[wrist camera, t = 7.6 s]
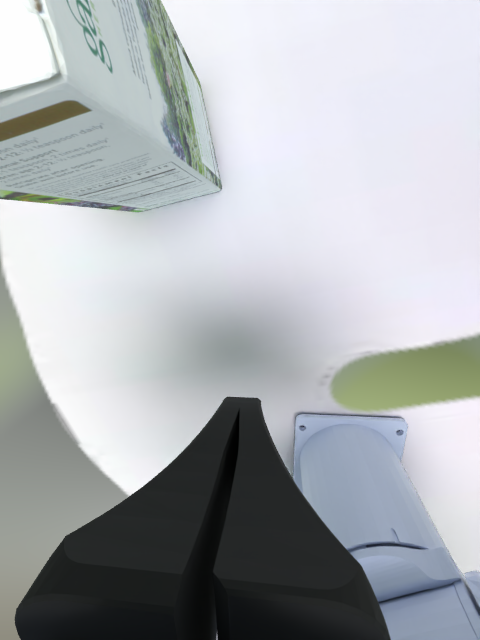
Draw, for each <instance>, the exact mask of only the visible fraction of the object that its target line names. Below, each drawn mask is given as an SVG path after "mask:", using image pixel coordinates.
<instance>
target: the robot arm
mask: <svg viewBox="0 0 480 640" xmlns="http://www.w3.org/2000/svg"><path fill="white" fill-rule="evenodd" d="M301 425H304V427H300V426H301ZM407 429H408V424H407V423H406V421H405V420H404V419H401V418H383V417H359V416H336V415H312V414H300V415H298V416H297V417H296V422H295V447H294V472H293V478H292V477H291V475H290V473H289V472H288V470H287V468H286V467H285V465H284V463H283V461H282V459H281V457H280V455H279V453H278V451H277V449H276V447H275V445H274V443H273V441H272V438H271V436H270V433H269V431H268V428H267V426H266V423H265V420H264V416H263V413H262V408H261V401H260V400H259V399H258V398H244V397H226V398H225V399H224V400H223V402H222V404H221V405H220V407H219V408H218V410H217V411H216V412H215V414H214V415H213V417H212V418H211V419H210V420H209V422H208V423H207V424H206V426H205V427H204V428H203V429H202V431H201V432H200V433H199V434H198V435H197V436H196V437H195V439H194V440H193V441H192V442H191V443H190V444H189V445H188V446H187V448H186V449H185V450H184V451H183V452H182V453H181V454H180V455H179V456H178V457H177V458H176V459H175V460H173V461H172V462H171V463H170V464H169V465H168V466H167V467H166V468H165V469H164V470H162V471H161V472H160V473H159V474H158V475H157V476H155V477H154V478H153V479H152V480H151V481H149V482H148V483H147V484H146V485H144V486H143V487H142V488H141V489H139V490H138V491H136V492H135V493H134V494H132V495H131V496H129V497H128V498H127V499H125V500H124V501H122V502H121V503H120V504H118V505H116V506H115V507H114V508H112V509H111V510H109V511H107V512H106V513H104V514H103V515H101V516H99V517H98V518H96V519H94V520H92V521H91V522H89V523H87V524H86V525H84V526H82V527H81V528H79V529H77V530H76V531H74V532H72V533H70V534H69V535H67V536H65V538H64V539H63V541H62V542H61V543H60V545H59V546H58V547H57V549H56V550H55V551H54V553H53V554H52V555H51V557H50V558H49V560H48V561H47V563H46V564H45V566H44V567H43V569H42V570H41V572H40V574H39V575H38V577H37V578H36V580H35V581H34V583H33V584H32V586H31V588H30V589H29V591H28V592H27V594H26V595H25V597H24V598H23V600H22V601H21V603H20V604H19V606H18V608H17V609H16V615H15V625H16V628H17V632H18V635H19V637H20V639H21V640H216V634H218V640H480V572H478V571H471V572H467V573H465V577H464V575H463V574H462V572H461V571H460V569H459V568H458V567H457V565H456V564H455V562H454V561H453V559H452V557H451V555H450V553H449V551H448V549H447V548H446V546H445V544H444V542H443V540H442V538H441V536H440V535H439V533H438V531H437V529H436V527H435V525H434V523H433V522H432V520H431V518H430V516H429V514H428V512H427V510H426V508H425V507H424V505H423V503H422V501H421V499H420V497H419V495H418V494H417V492H416V490H415V488H414V486H413V484H412V482H411V481H410V479H409V477H408V475H407V473H406V471H405V469H404V467H403V466H402V464H401V459H402V454H403V449H404V444H405V439H406V434H407ZM398 430H401V431H399V432H396V431H398Z"/></svg>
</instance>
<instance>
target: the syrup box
mask: <svg viewBox="0 0 480 640" xmlns="http://www.w3.org/2000/svg"><path fill="white" fill-rule="evenodd" d="M221 189H222V185H221V180H220V175H219V171H218V167H217V162H216V157H215V153H214V148H213V143H212V139H211V134H210V129H209V124H208V120H207V115H206V110H205V105H204V101H203V96H202V91H201V86H200V82H199V80H198V78H197V75H196V73H195V71H194V69H193V67H192V65H191V63H190V61H189V59H188V56H187V54H186V52H185V50H184V48H183V46H182V44H181V42H180V40H179V38H178V36H177V34H176V31H175V29H174V27H173V25H172V23H171V21H170V19H169V16H168V14H167V13H166V11H165V8H164V6H163V4H162V2H161V0H0V199H7V200H18V201H28V202H39V203H49V204H59V205H70V206H81V207H92V208H102V209H111V210H121V211H132V212H141V211H145V210H149V209H153V208H157V207H160V206H164V205H168V204H171V203H175V202H179V201H183V200H187V199H191V198H195V197H199V196H203V195H207V194H211V193H214V192H218V191H220V190H221Z"/></svg>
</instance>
